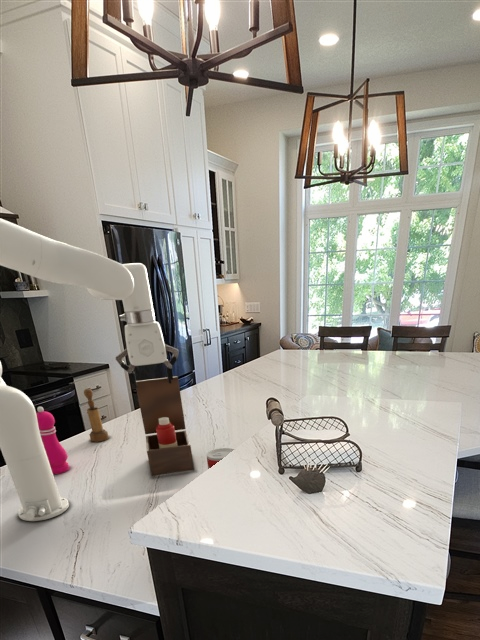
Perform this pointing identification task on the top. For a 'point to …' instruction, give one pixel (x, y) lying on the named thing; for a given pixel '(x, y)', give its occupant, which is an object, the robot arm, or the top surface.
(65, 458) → the pepper mill
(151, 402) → the bread box lid
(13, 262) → the robot arm
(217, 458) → the canned food
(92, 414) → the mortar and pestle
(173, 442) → the ketchup bottle
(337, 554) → the top surface
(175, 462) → the bread box
